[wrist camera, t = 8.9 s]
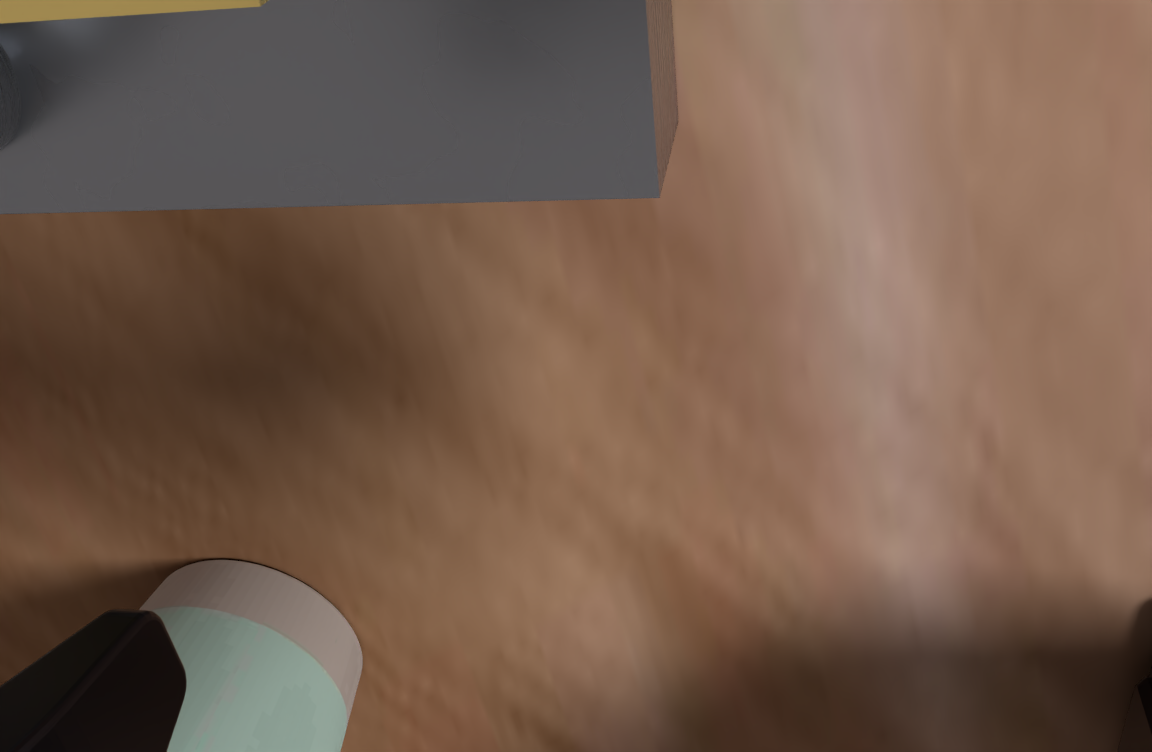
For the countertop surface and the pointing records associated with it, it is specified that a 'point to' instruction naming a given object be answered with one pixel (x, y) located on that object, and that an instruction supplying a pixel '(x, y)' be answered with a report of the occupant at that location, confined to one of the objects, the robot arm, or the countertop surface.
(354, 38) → the gray yellow fixture base
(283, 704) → the coffee cup
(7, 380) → the countertop surface
